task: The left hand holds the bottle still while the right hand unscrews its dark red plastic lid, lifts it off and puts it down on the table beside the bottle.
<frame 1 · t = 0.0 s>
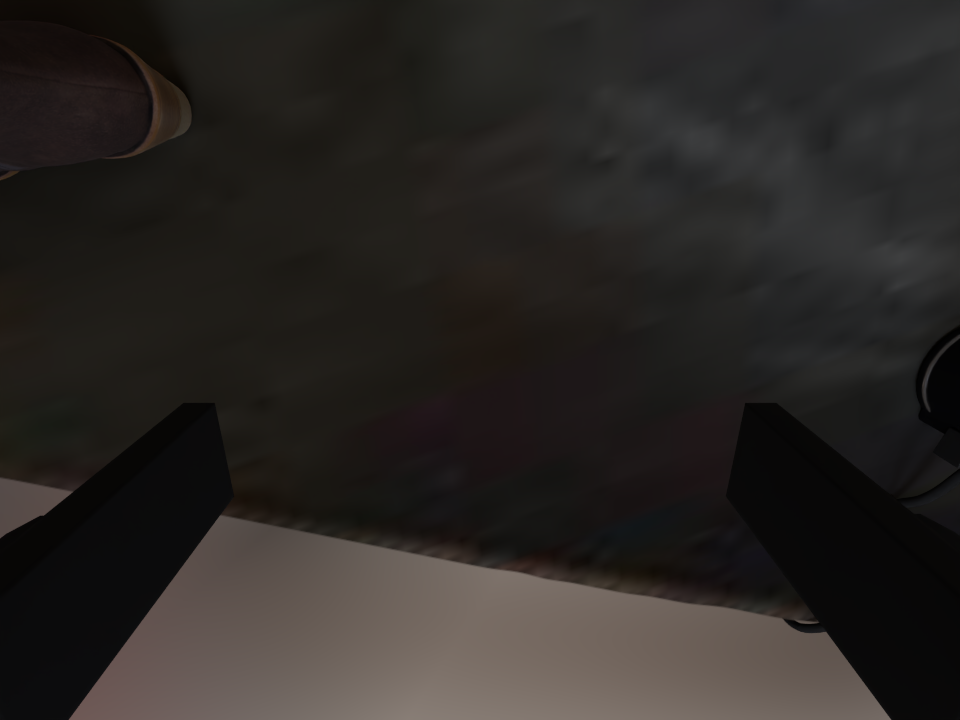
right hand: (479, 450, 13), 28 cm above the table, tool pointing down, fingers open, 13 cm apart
boot: (43, 110, 35), on the table
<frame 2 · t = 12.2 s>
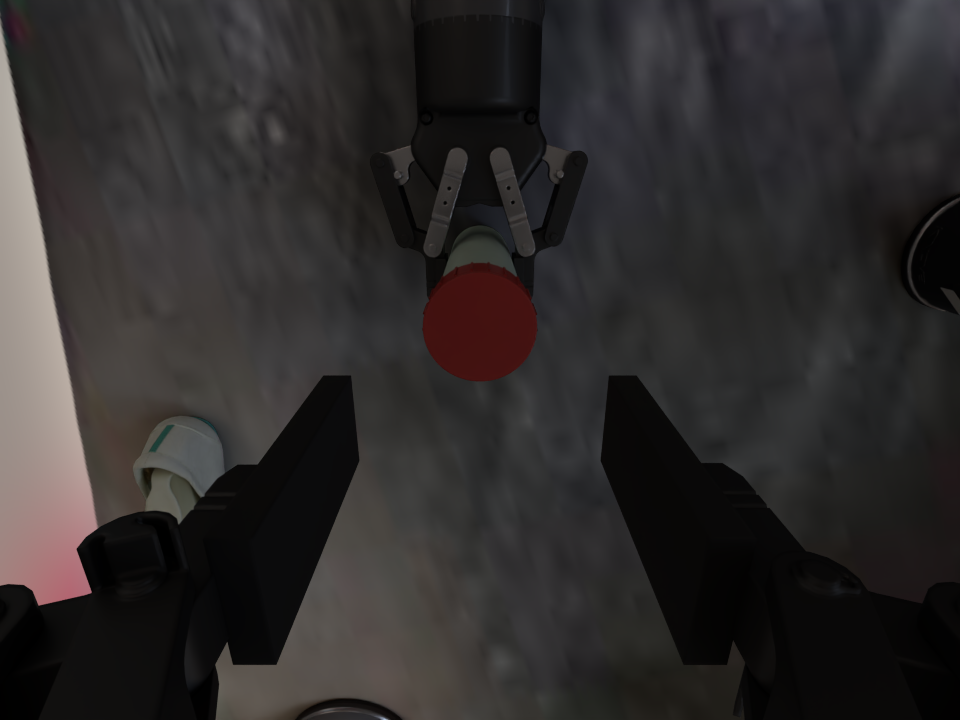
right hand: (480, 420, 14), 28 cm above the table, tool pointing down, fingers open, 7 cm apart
left hand: (479, 307, 36), fingers closed on bottle, 4 cm apart
lid: (479, 326, 23), point 19 cm above the table, screwed on, not yet turned
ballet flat: (216, 518, 50), on the table
bottle: (479, 254, 41), on the table, touching left hand
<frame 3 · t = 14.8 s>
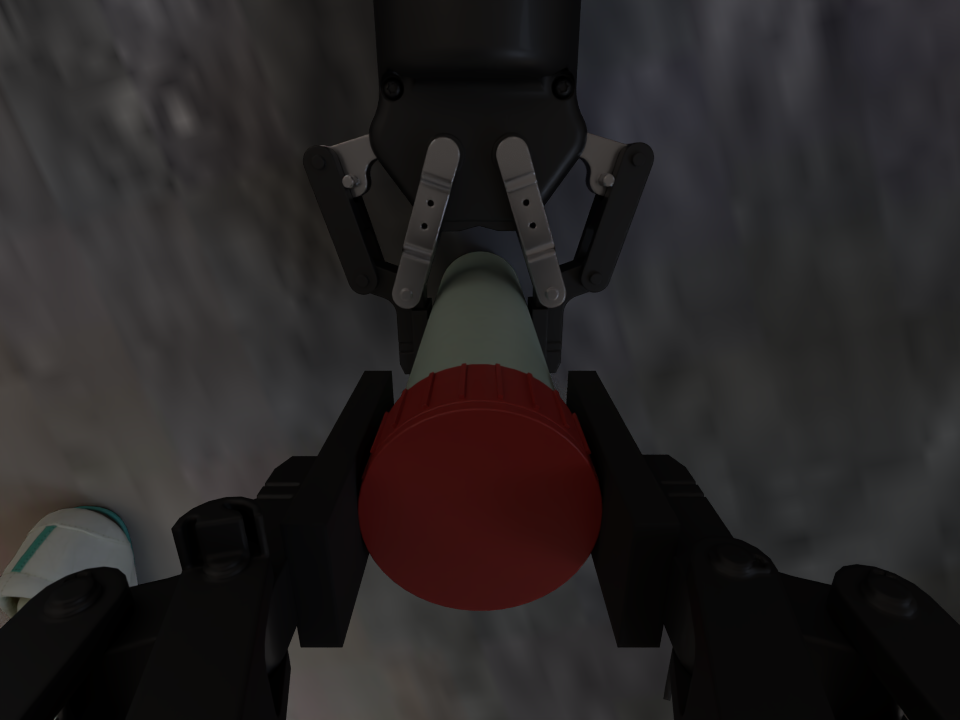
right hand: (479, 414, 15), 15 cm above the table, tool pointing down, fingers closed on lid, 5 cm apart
left hand: (479, 377, 24), fingers closed on bottle, 4 cm apart
lid: (480, 508, 11), point 19 cm above the table, screwed on, not yet turned, touching right hand
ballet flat: (134, 629, 38), on the table
bottle: (480, 291, 29), on the table, touching left hand
when the right hand's fingers open (15 cm above the table, at t = 16.0 s): lid stays where it is, point 20 cm above the table.
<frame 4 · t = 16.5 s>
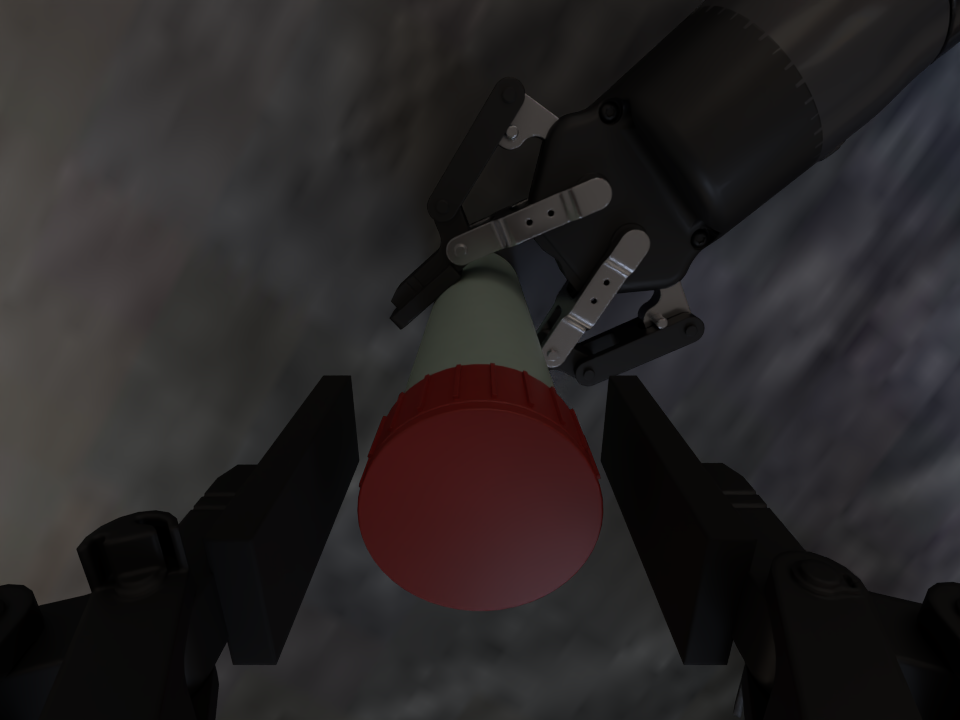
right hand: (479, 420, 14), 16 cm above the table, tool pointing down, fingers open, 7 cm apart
left hand: (437, 357, 24), fingers closed on bottle, 4 cm apart
lid: (480, 508, 11), point 20 cm above the table, turned 86° so far, risen 0.3 cm, still on its thread
bottle: (480, 290, 29), on the table, touching left hand
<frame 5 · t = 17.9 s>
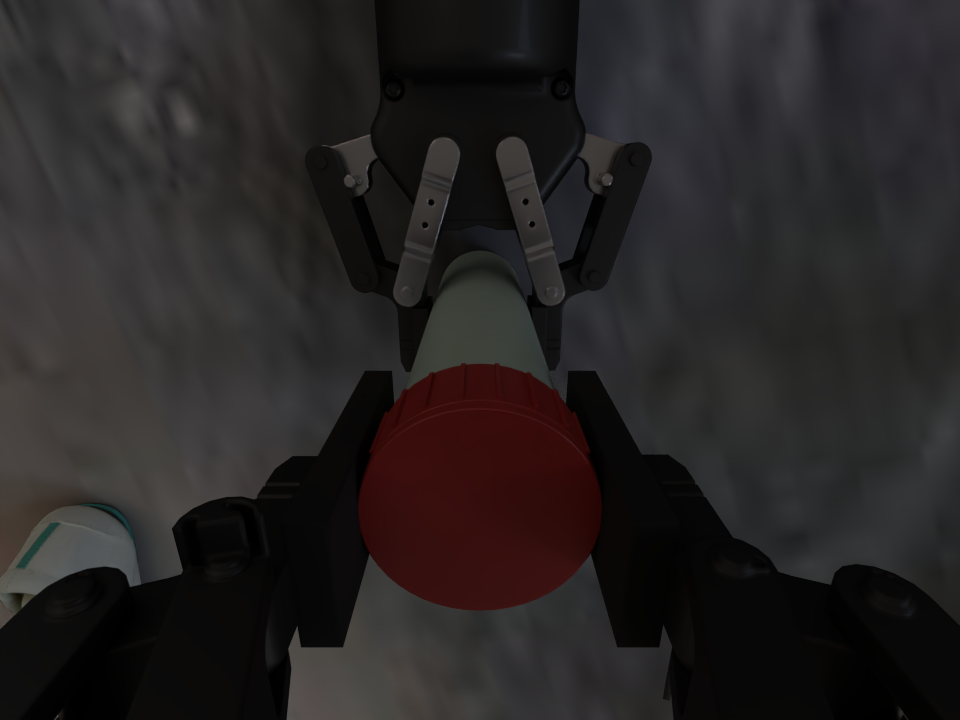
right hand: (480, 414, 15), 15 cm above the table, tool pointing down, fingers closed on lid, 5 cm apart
left hand: (479, 375, 24), fingers closed on bottle, 4 cm apart
lid: (480, 507, 11), point 20 cm above the table, turned 86° so far, risen 0.3 cm, still on its thread, touching right hand
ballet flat: (136, 626, 38), on the table
bottle: (480, 290, 29), on the table, touching left hand
when the right hand's fingers open (0 cm above the table, at t = 24.7 s): lid drops 2 cm, point 2 cm above the table.
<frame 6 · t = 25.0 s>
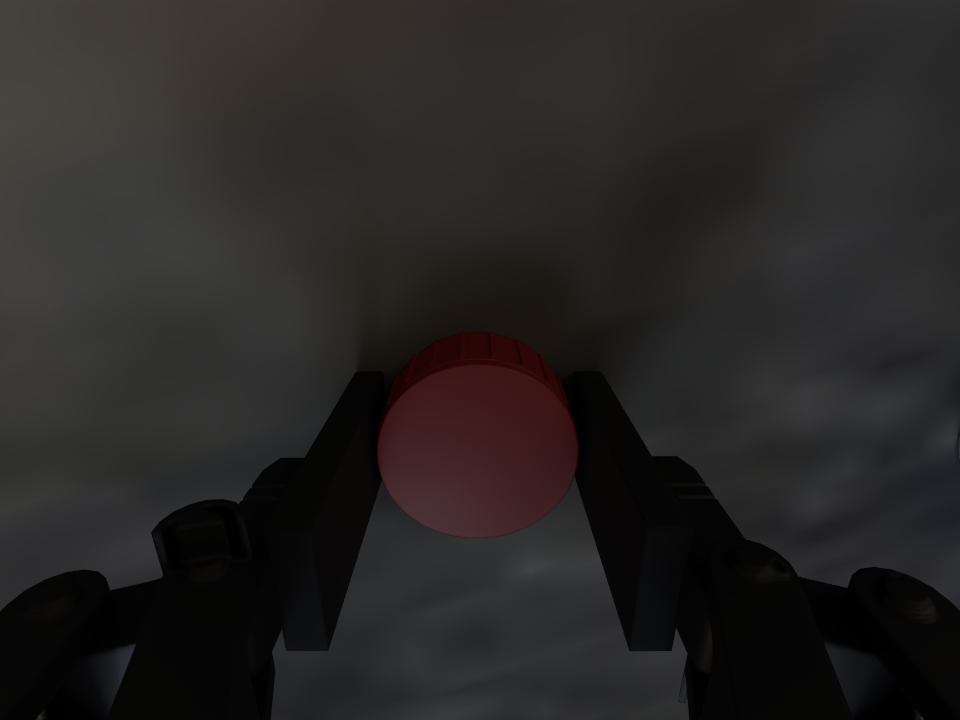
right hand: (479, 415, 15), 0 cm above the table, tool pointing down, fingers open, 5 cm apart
lid: (477, 450, 13), point 2 cm above the table, off its thread
when the left hand's fingers open (6 cm above the table, at t = 25.8 s): bottle stays where it is, on the table.
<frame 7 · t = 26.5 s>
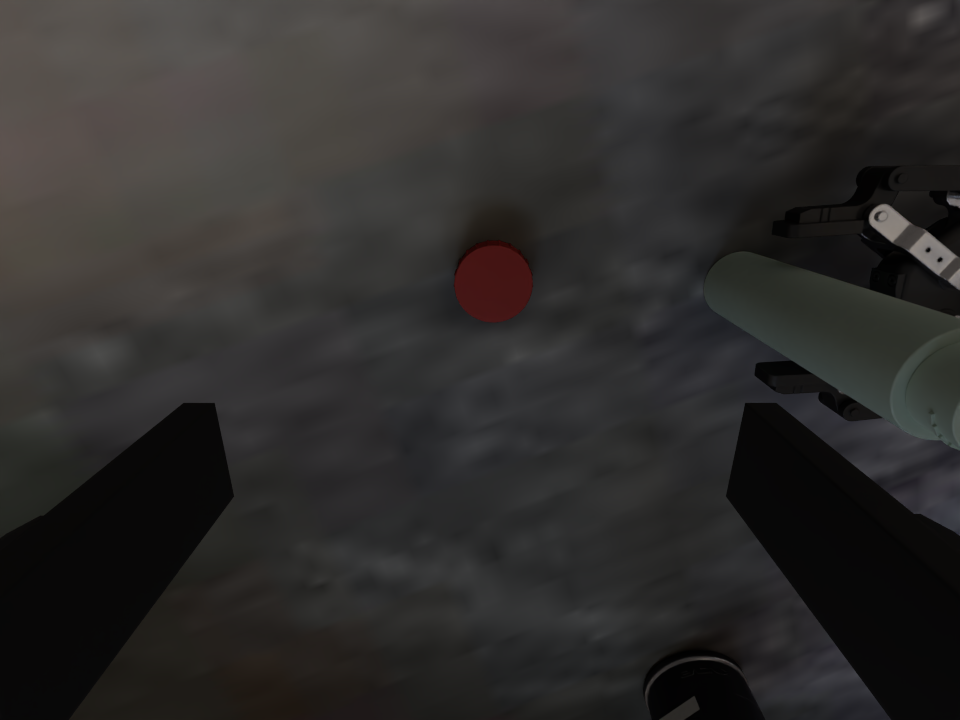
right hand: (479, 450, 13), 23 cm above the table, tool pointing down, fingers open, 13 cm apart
lid: (493, 283, 33), point 2 cm above the table, off its thread
bottle: (736, 284, 35), on the table
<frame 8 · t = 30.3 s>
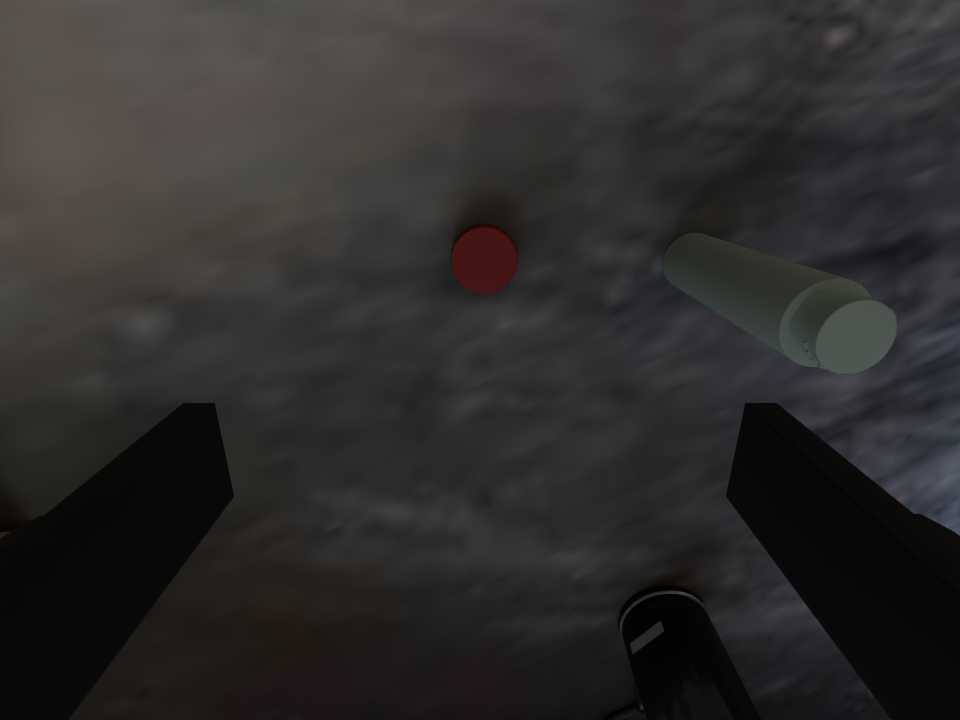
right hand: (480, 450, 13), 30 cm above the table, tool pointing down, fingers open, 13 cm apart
lid: (484, 260, 39), point 2 cm above the table, off its thread
bottle: (690, 261, 41), on the table
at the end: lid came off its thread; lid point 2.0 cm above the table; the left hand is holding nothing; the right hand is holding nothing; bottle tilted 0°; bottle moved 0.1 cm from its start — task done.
